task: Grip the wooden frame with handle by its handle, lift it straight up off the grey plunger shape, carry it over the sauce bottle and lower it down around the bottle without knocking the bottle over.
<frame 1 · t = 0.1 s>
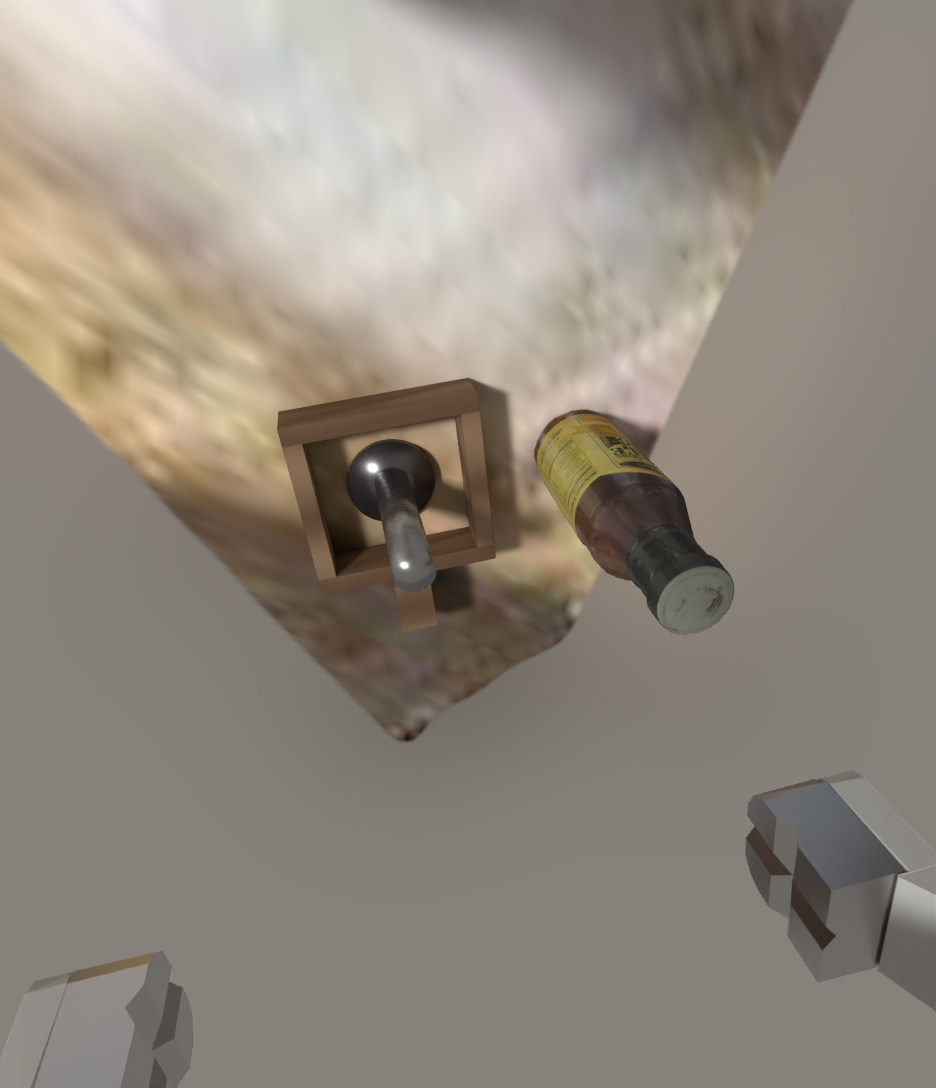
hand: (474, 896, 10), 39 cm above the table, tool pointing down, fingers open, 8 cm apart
wooden frame with handle: (390, 479, 49), on the table
grey plunger shape: (390, 479, 49), on the table
sauce bottle: (569, 443, 51), on the table
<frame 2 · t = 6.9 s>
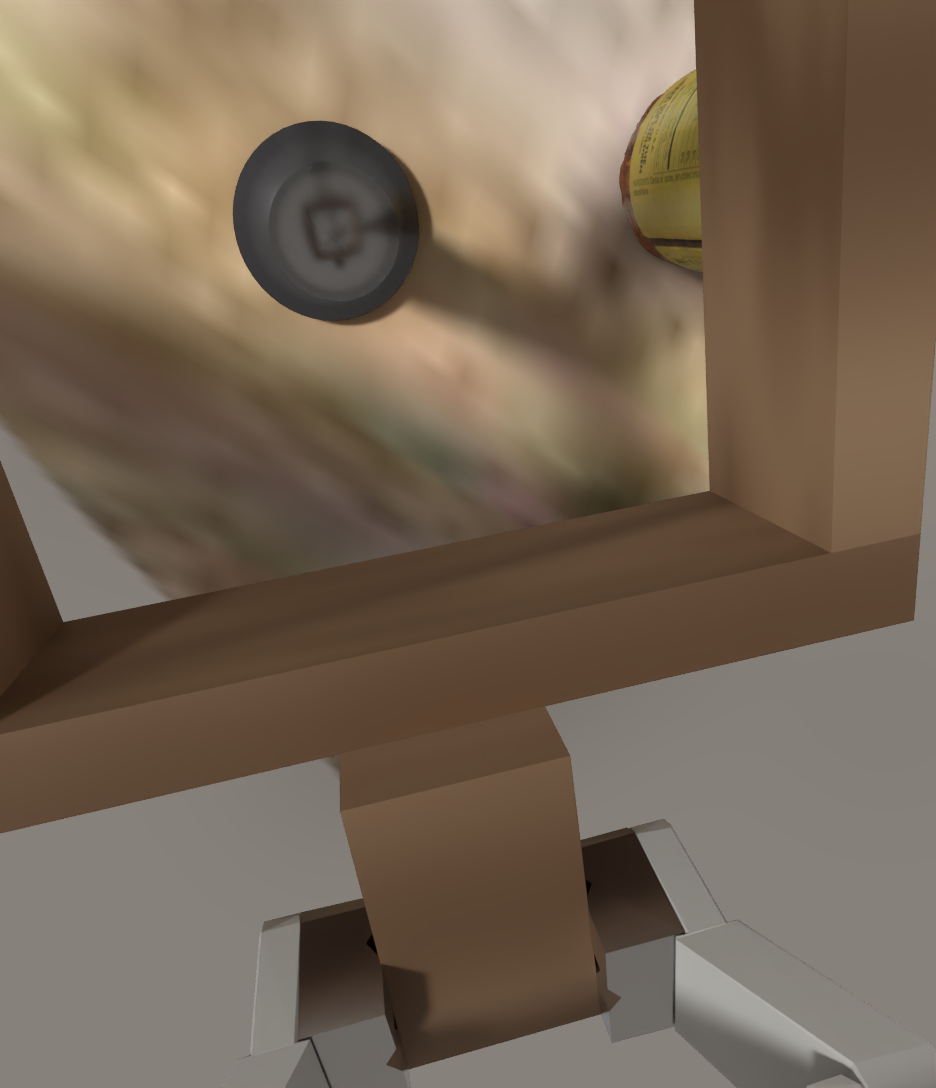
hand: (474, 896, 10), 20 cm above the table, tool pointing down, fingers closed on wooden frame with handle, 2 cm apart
wooden frame with handle: (333, 193, 9), point 16 cm above the table, tilted 6°, touching gripper
grey plunger shape: (327, 225, 24), on the table
sauce bottle: (686, 171, 26), on the table
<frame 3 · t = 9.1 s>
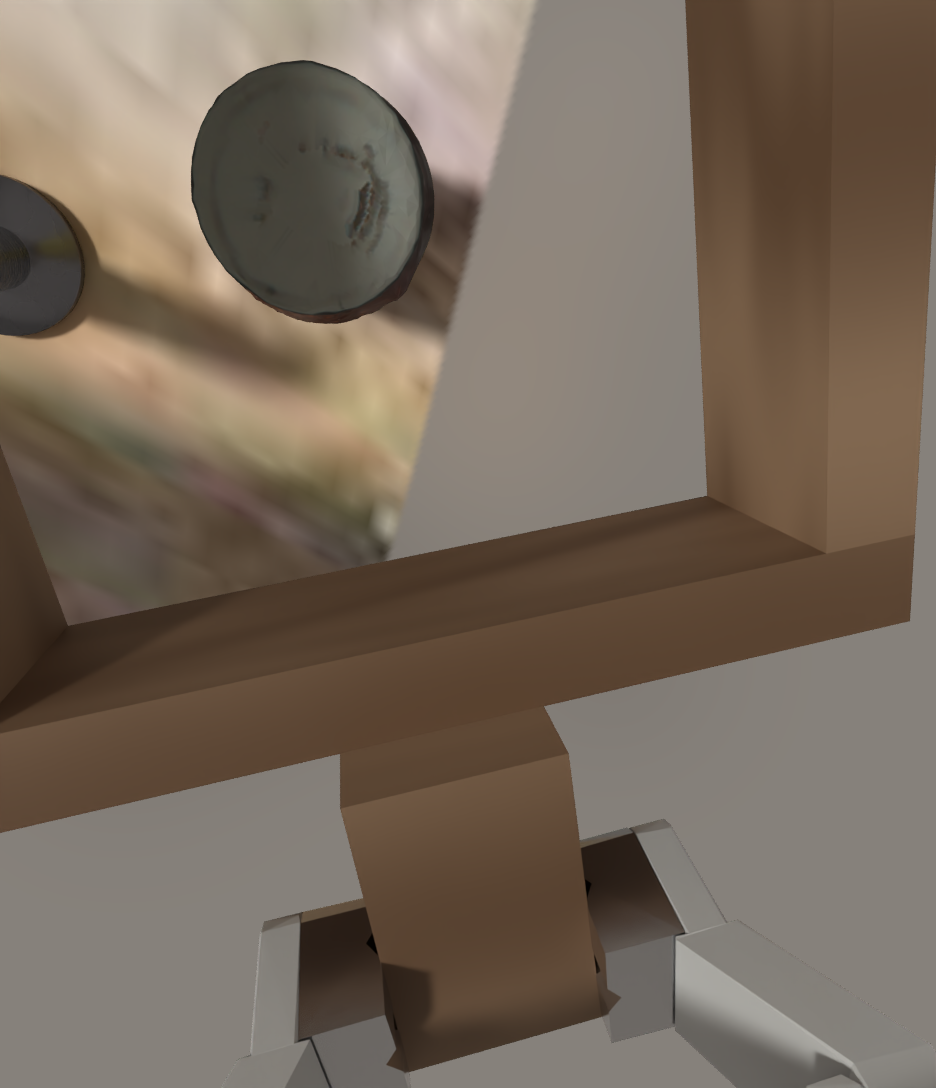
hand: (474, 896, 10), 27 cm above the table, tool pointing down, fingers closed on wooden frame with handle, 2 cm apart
wooden frame with handle: (335, 204, 9), point 23 cm above the table, tilted 8°, touching gripper
grey plunger shape: (2, 256, 29), on the table
sauce bottle: (324, 208, 30), on the table
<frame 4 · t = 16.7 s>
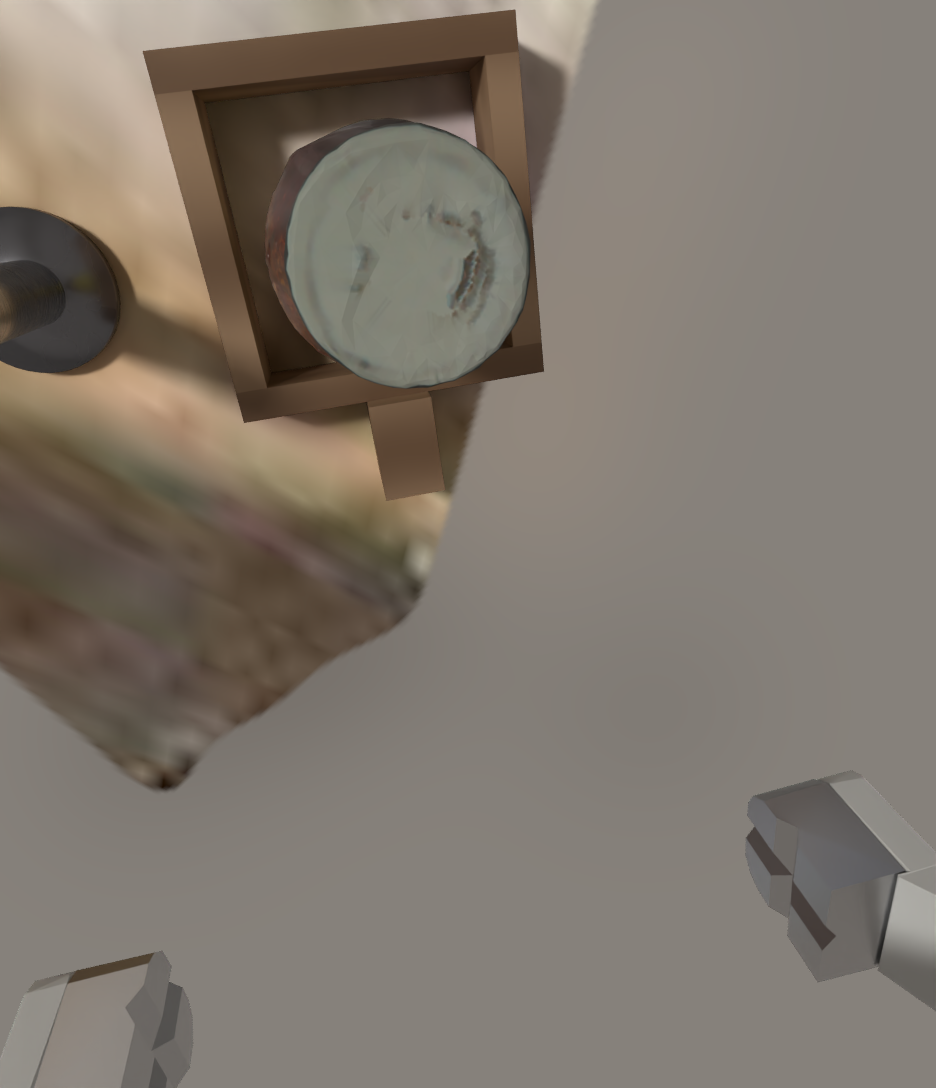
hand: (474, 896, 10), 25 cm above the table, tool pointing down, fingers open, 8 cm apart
wooden frame with handle: (364, 230, 29), on the table
grey plunger shape: (36, 292, 28), on the table
sauce bottle: (366, 243, 29), resting in wooden frame with handle
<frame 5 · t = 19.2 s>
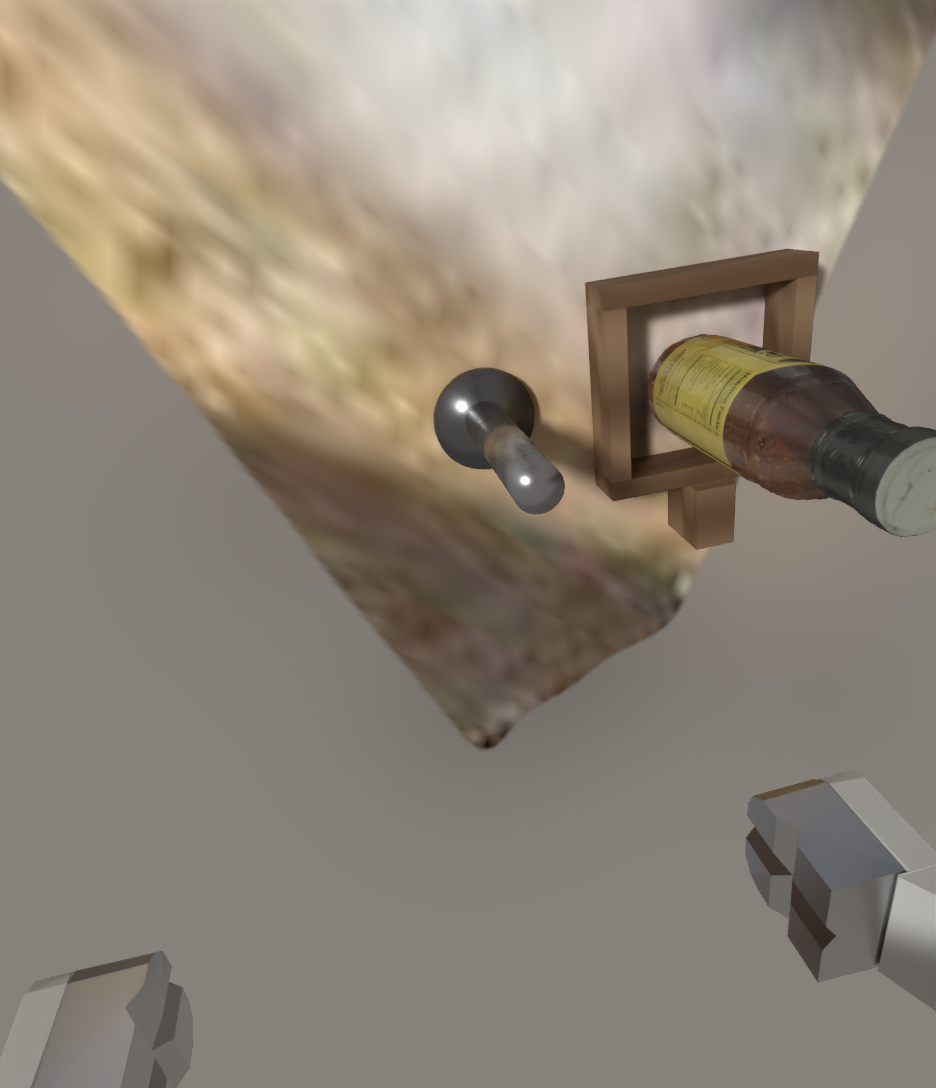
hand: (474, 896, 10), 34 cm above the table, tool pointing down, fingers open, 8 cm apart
wooden frame with handle: (686, 372, 44), on the table
grey plunger shape: (483, 418, 43), on the table
sauce bottle: (685, 379, 44), resting in wooden frame with handle
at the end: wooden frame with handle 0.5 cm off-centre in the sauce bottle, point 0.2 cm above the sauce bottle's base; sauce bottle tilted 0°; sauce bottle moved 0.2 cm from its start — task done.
